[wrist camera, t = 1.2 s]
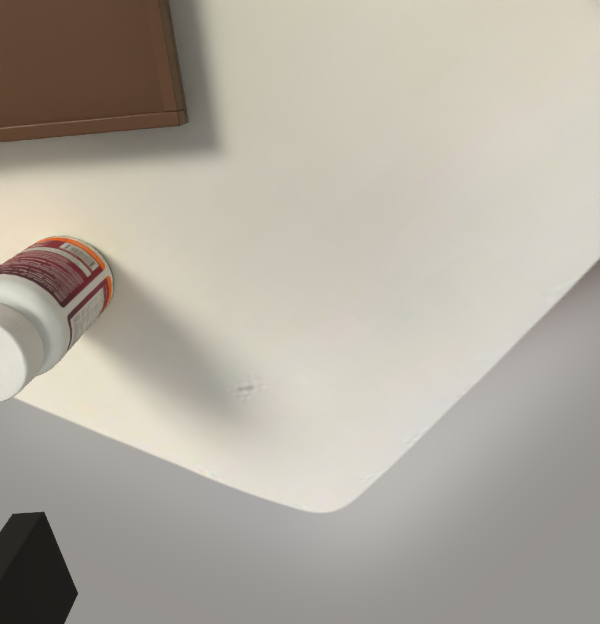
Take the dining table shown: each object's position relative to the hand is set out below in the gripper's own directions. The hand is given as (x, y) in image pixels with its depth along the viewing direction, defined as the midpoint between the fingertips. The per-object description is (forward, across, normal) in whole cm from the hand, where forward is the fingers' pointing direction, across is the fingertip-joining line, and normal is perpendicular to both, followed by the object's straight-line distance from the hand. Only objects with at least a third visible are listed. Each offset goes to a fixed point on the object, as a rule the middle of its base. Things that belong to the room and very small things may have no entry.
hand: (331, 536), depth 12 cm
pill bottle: (+25, -17, -1) cm, 30 cm away
